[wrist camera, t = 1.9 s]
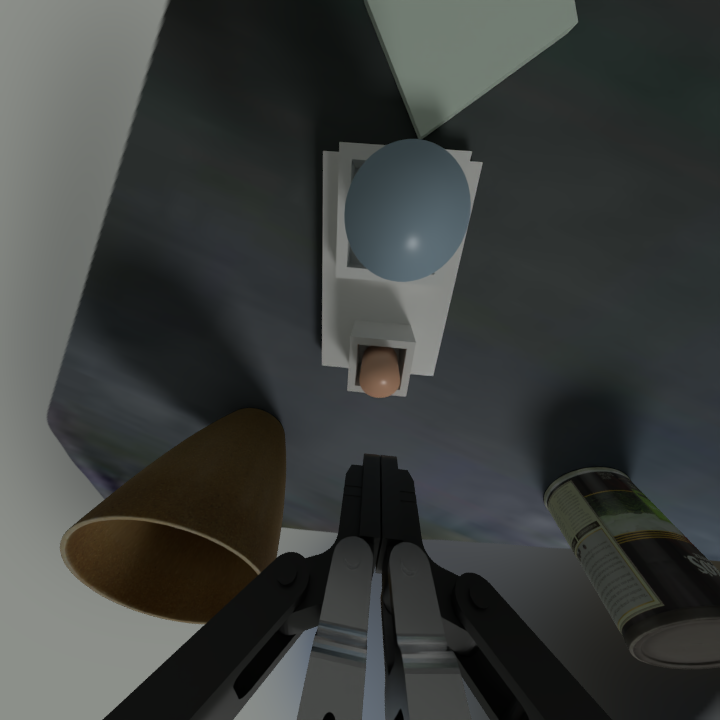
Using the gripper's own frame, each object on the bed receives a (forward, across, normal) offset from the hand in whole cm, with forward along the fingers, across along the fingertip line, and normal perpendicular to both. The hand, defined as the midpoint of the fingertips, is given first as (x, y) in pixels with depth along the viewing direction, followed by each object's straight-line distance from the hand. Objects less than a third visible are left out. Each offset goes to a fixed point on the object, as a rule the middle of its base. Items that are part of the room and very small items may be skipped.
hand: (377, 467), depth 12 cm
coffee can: (+16, -29, +19) cm, 38 cm away
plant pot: (+16, +14, +14) cm, 26 cm away
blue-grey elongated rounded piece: (+14, 0, -10) cm, 17 cm away
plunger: (+11, 0, 0) cm, 11 cm away
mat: (+16, -3, -22) cm, 27 cm away
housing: (+16, 0, -6) cm, 17 cm away
